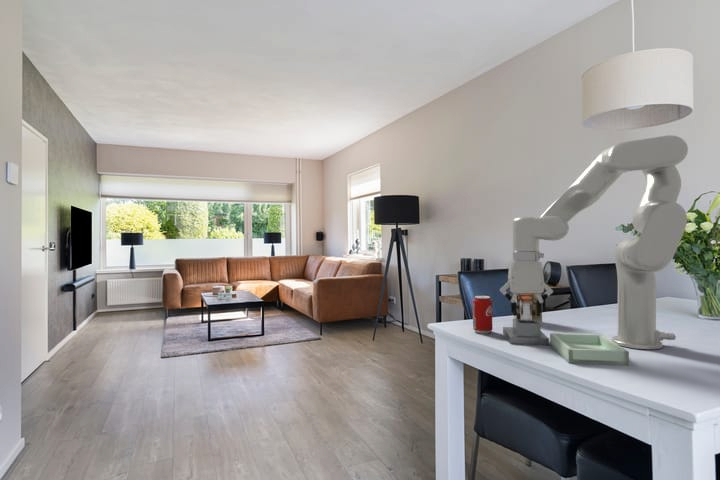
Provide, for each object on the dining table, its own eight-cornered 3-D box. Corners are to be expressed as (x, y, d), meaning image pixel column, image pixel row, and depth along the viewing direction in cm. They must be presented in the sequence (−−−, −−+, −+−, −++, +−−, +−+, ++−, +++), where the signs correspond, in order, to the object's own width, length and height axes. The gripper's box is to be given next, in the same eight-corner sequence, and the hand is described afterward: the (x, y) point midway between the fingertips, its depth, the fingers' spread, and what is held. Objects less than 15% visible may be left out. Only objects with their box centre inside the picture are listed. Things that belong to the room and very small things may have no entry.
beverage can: (493, 334, 139) (493, 298, 139) (473, 333, 140) (473, 297, 140) (491, 330, 145) (491, 295, 145) (472, 329, 146) (472, 295, 146)
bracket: (537, 334, 139) (537, 315, 139) (548, 345, 125) (548, 324, 125) (503, 332, 141) (502, 315, 141) (510, 343, 127) (509, 323, 127)
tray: (601, 346, 123) (601, 334, 123) (628, 365, 105) (628, 351, 105) (550, 344, 125) (550, 333, 125) (568, 363, 108) (568, 349, 108)
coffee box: (516, 324, 154) (516, 280, 154) (513, 320, 161) (512, 278, 161) (542, 324, 153) (542, 280, 153) (538, 320, 159) (538, 278, 159)
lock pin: (532, 332, 132) (531, 294, 132) (535, 336, 128) (535, 296, 128) (517, 332, 133) (517, 293, 133) (520, 335, 129) (519, 295, 128)
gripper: (552, 256, 132) (552, 313, 132) (495, 256, 135) (495, 312, 136) (559, 257, 125) (559, 318, 125) (498, 257, 128) (498, 316, 128)
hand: (526, 314), depth 130 cm, fingers open, 6 cm apart
